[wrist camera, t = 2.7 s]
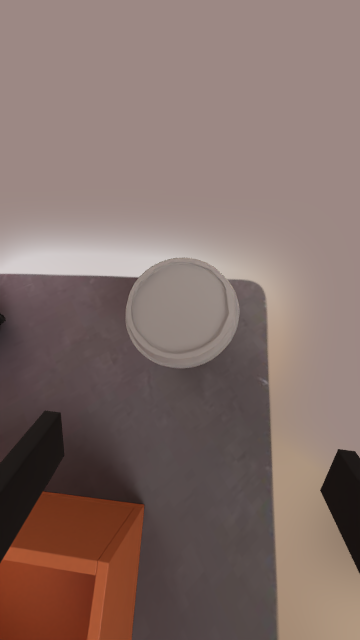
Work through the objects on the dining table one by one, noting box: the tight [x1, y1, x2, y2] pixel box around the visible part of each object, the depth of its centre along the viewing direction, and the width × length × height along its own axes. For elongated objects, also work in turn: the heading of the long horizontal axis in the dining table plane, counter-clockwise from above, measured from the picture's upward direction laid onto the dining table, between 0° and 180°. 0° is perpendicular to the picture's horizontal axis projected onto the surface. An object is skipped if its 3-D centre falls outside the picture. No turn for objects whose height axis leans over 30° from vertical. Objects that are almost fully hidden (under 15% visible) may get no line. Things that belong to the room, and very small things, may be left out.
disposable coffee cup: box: [125, 258, 239, 368], centre depth 25 cm, size 10×10×12 cm
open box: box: [0, 492, 144, 640], centre depth 19 cm, size 17×17×10 cm
